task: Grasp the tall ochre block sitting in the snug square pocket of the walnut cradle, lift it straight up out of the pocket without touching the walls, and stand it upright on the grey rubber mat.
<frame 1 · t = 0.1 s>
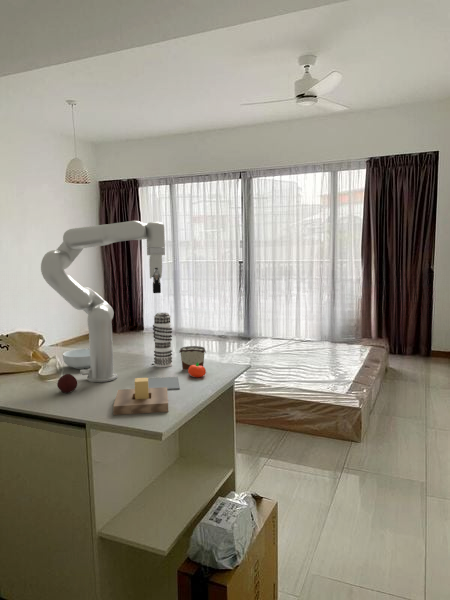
hand: (156, 292, 188), 37 cm above the countertop, tool pointing down, fingers open, 9 cm apart
pumpkin: (196, 377, 190), on the countertop
walnut cradle: (142, 404, 155), on the countertop
decorative candle: (163, 365, 211), on the countertop
grey mat: (159, 384, 179), on the countertop
cereal bowl: (82, 367, 208), on the countertop
food container: (193, 368, 204), on the countertop
dark maroon ball: (67, 392, 170), on the countertop
ochre block: (141, 392, 155), in the walnut cradle
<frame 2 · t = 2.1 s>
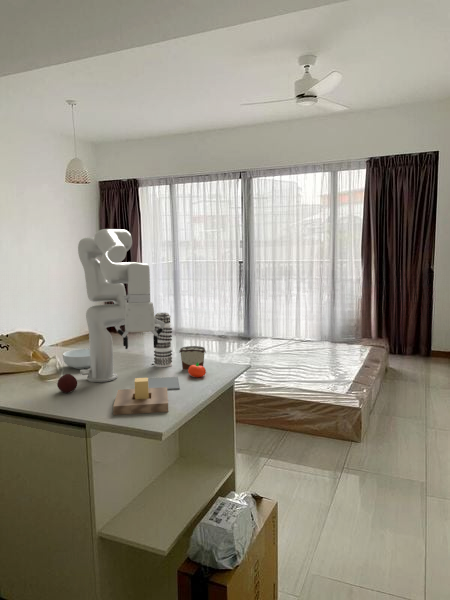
hand: (140, 347, 153), 20 cm above the countertop, tool pointing down, fingers open, 9 cm apart
nothing on the countertop moved.
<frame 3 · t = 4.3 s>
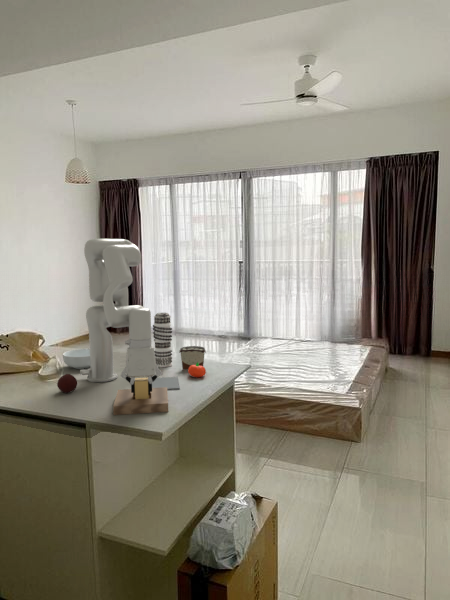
hand: (141, 393, 155), 4 cm above the countertop, tool pointing down, fingers closed on ochre block, 4 cm apart
ochre block: (141, 392, 155), in the walnut cradle, touching gripper
everything else where it was.
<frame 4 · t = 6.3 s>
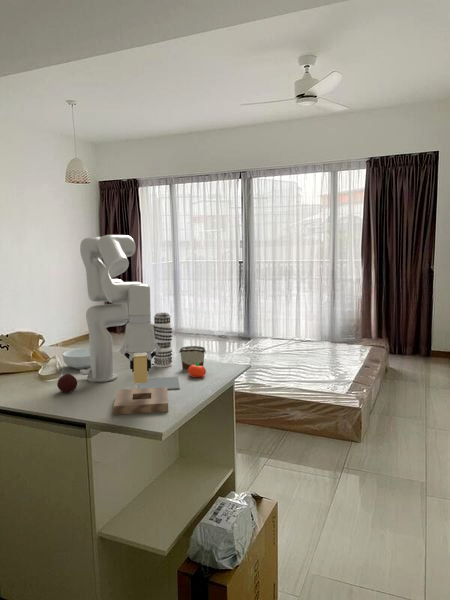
hand: (140, 370, 154), 12 cm above the countertop, tool pointing down, fingers closed on ochre block, 4 cm apart
ochre block: (140, 368, 154), point 13 cm above the countertop, touching gripper
everything else where it was.
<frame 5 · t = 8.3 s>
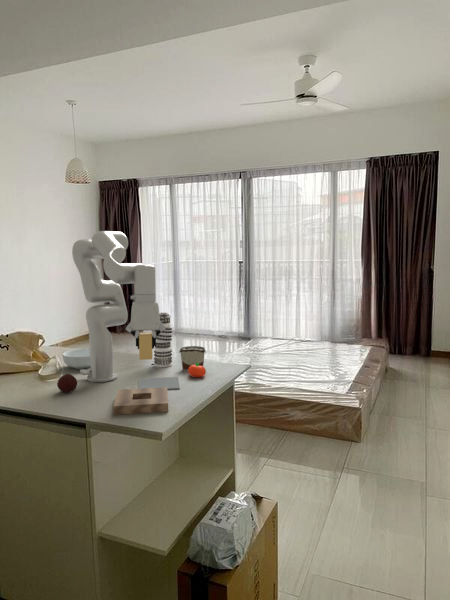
hand: (146, 347, 161), 19 cm above the countertop, tool pointing down, fingers closed on ochre block, 4 cm apart
ochre block: (145, 346, 161), point 19 cm above the countertop, touching gripper
everything else where it was.
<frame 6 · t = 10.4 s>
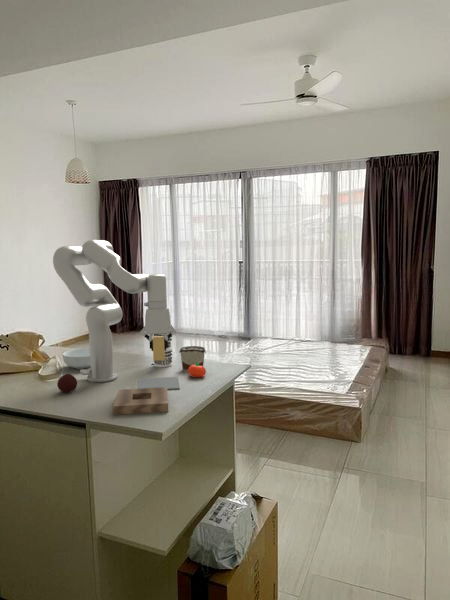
hand: (158, 349, 177), 14 cm above the countertop, tool pointing down, fingers closed on ochre block, 4 cm apart
ochre block: (158, 348, 177), point 15 cm above the countertop, touching gripper
everything else where it was.
when the fingers open (6 cm above the countertop, at t = 12.2 s): ochre block drops 1 cm, resting on grey mat.
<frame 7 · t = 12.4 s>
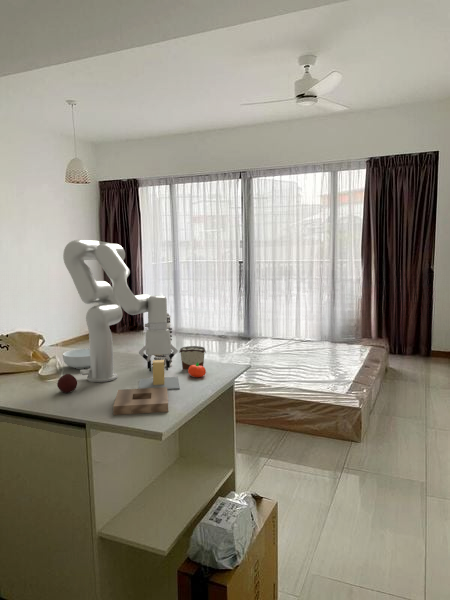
hand: (158, 369, 178), 6 cm above the countertop, tool pointing down, fingers open, 6 cm apart
ochre block: (158, 372, 178), on the grey mat, point 5 cm above the countertop
everything else where it was.
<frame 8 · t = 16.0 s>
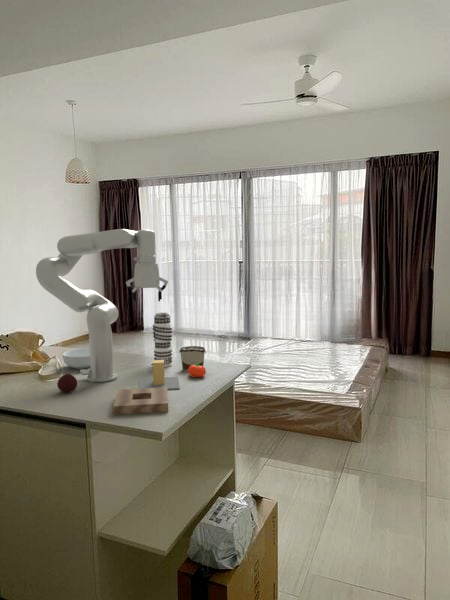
hand: (147, 301, 183), 33 cm above the countertop, tool pointing down, fingers open, 9 cm apart
nothing on the countertop moved.
at the end: ochre block inside the target area on the grey mat (0.1 cm from its centre), point 5.1 cm above the grey mat's base; ochre block tilted 0°; the gripper is holding nothing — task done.
